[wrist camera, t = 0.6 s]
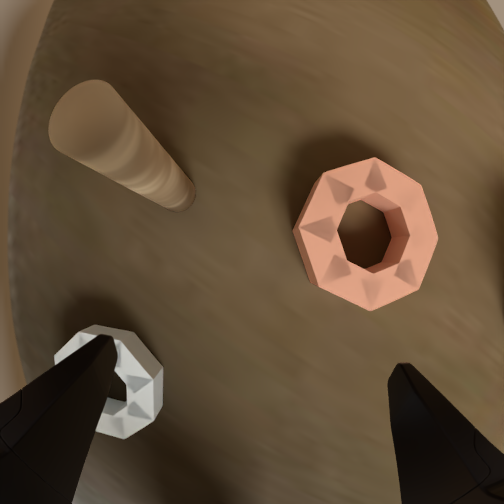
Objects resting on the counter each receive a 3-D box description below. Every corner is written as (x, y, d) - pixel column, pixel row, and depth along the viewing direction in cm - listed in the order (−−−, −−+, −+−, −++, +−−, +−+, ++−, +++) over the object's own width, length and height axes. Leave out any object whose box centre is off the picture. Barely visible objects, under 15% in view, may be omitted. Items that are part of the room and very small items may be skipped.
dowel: (185, 217, 22) (89, 165, 8) (154, 203, 22) (36, 141, 8) (202, 185, 22) (132, 89, 8) (170, 171, 22) (75, 73, 8)
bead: (163, 429, 22) (154, 446, 19) (75, 407, 22) (61, 419, 19) (164, 336, 22) (153, 346, 19) (70, 319, 22) (52, 325, 19)
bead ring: (384, 318, 22) (401, 326, 19) (275, 265, 22) (279, 267, 19) (428, 209, 22) (449, 204, 19) (328, 151, 22) (338, 137, 19)
